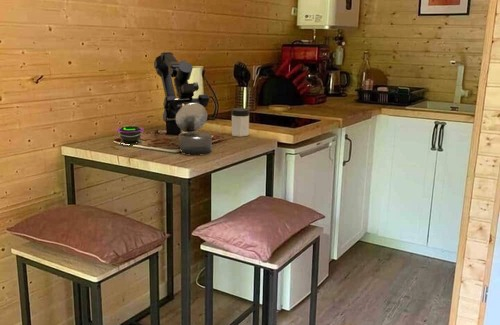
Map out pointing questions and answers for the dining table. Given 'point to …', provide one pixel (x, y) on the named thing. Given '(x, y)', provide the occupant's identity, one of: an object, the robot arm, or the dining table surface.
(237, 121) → the jar
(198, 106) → the cooker lid
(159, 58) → the robot arm
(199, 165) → the dining table surface
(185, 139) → the cooker pot
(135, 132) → the toy cauldron
